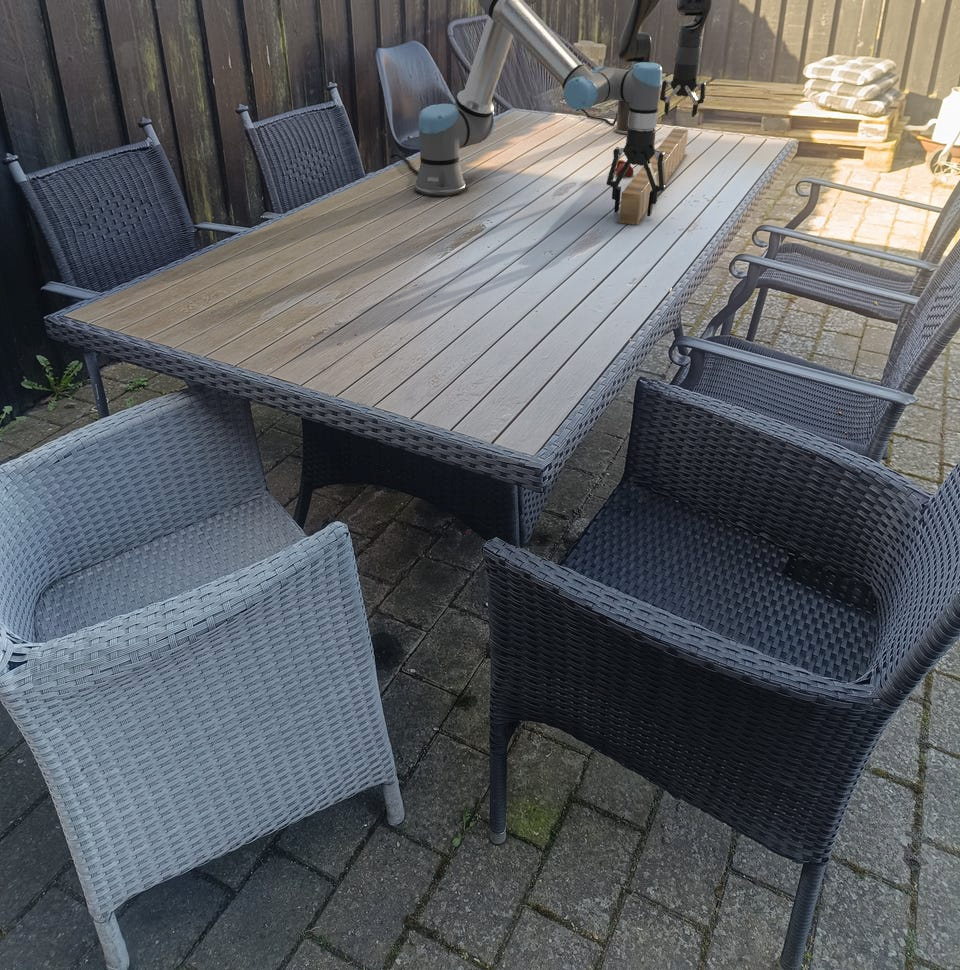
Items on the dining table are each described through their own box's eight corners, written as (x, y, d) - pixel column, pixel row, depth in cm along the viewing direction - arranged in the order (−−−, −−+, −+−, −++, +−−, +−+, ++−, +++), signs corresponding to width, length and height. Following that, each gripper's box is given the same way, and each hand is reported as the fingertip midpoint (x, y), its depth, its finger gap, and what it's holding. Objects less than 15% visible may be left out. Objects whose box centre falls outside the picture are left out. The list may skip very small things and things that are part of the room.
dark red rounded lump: (625, 156, 273) (635, 163, 267) (625, 169, 276) (634, 176, 269) (609, 158, 272) (618, 165, 266) (608, 171, 275) (618, 178, 268)
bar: (636, 225, 232) (639, 194, 227) (618, 222, 233) (621, 192, 229) (684, 154, 291) (688, 129, 287) (670, 153, 293) (673, 128, 288)
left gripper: (684, 128, 223) (673, 213, 236) (605, 121, 229) (598, 205, 243) (679, 134, 217) (668, 221, 231) (598, 127, 224) (592, 212, 237)
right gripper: (711, 61, 271) (703, 114, 280) (667, 58, 275) (660, 111, 284) (707, 65, 265) (699, 119, 275) (662, 62, 269) (656, 116, 279)
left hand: (632, 213), depth 237 cm, fingers open, 9 cm apart
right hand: (680, 115), depth 279 cm, fingers open, 8 cm apart
